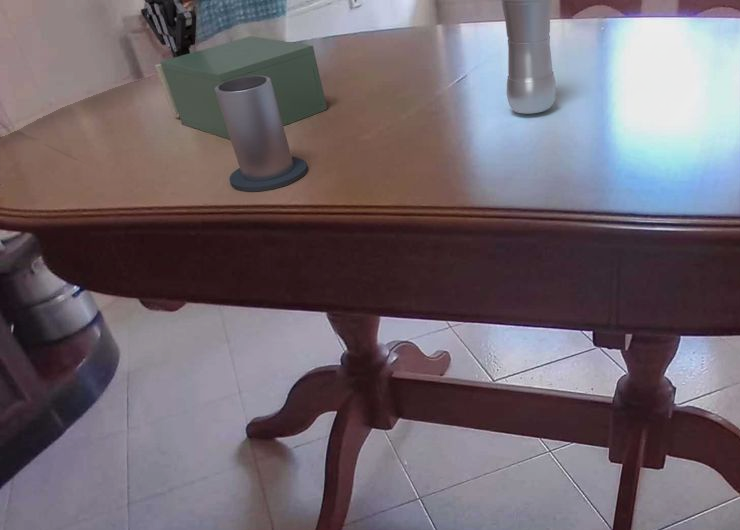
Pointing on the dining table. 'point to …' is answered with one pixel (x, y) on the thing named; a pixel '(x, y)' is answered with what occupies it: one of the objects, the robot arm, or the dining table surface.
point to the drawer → (166, 88)
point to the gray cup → (255, 127)
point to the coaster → (292, 176)
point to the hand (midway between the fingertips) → (188, 74)
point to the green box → (241, 59)
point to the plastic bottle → (529, 55)
